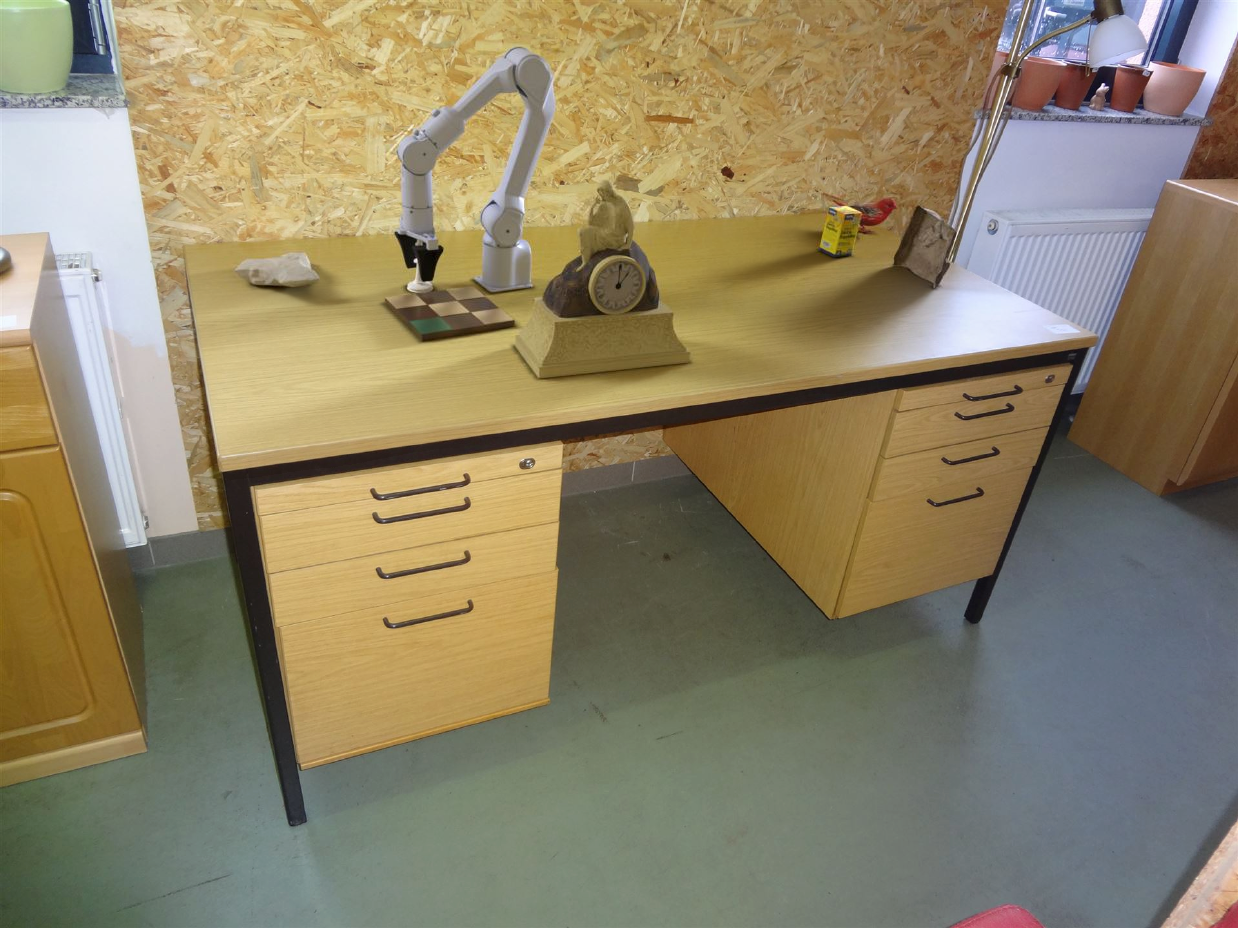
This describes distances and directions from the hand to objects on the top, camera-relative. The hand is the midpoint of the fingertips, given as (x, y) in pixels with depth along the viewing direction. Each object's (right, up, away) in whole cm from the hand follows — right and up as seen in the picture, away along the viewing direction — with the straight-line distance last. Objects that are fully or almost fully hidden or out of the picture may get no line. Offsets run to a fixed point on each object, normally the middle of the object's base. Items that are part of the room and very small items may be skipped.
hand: (419, 274), depth 169 cm
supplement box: (+93, +15, +47) cm, 106 cm away
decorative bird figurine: (+105, +27, +67) cm, 127 cm away
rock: (-27, -2, -2) cm, 27 cm away
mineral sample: (+111, +7, +37) cm, 117 cm away
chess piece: (0, -3, +2) cm, 3 cm away
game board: (+7, -9, -8) cm, 14 cm away
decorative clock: (+36, -18, -16) cm, 43 cm away
